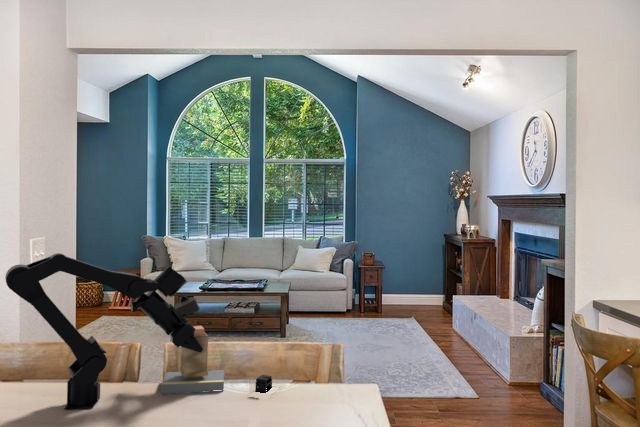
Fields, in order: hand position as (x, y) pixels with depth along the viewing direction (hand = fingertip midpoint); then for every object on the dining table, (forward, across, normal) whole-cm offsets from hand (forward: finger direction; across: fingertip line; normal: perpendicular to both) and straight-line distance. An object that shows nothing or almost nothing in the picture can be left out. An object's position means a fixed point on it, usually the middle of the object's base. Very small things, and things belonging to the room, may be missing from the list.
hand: (199, 348), depth 134 cm
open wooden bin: (+4, 0, +6) cm, 7 cm away
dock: (+6, 0, +8) cm, 10 cm away
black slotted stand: (+18, -12, -3) cm, 22 cm away
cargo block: (-3, 0, -1) cm, 3 cm away
